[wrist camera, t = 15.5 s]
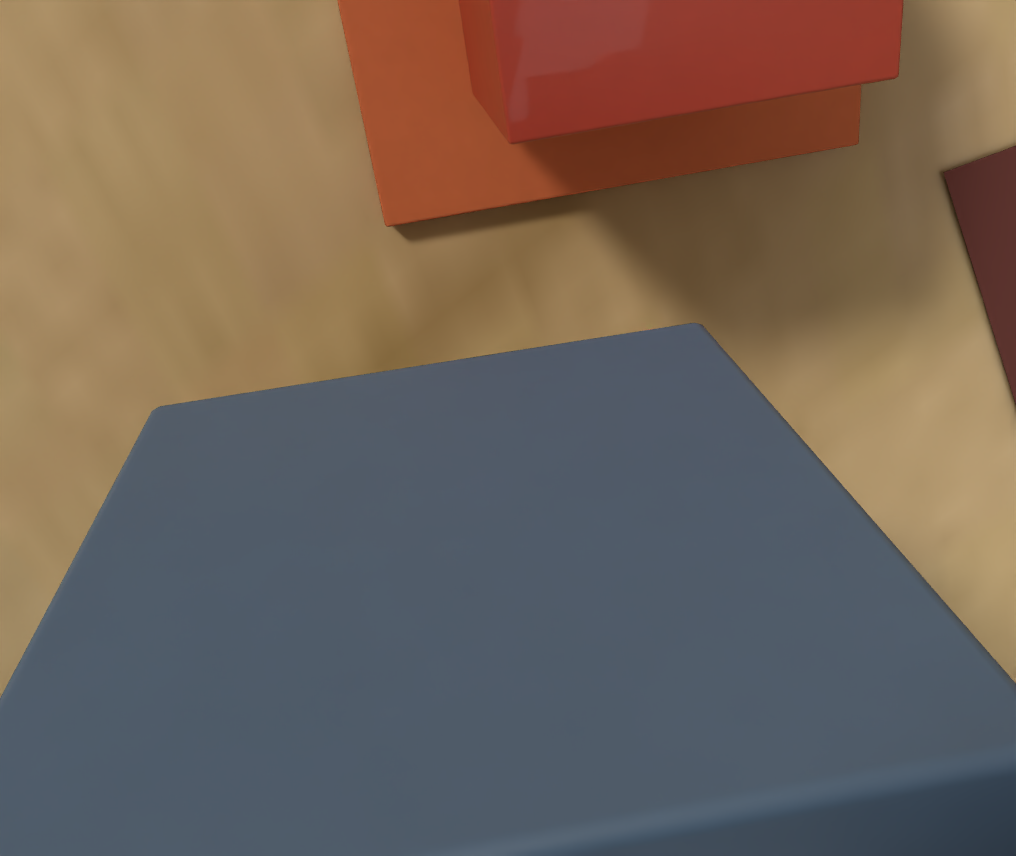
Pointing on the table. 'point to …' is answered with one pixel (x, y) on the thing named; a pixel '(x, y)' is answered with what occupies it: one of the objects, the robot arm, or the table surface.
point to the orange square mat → (542, 163)
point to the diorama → (991, 240)
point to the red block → (665, 57)
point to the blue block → (500, 633)
